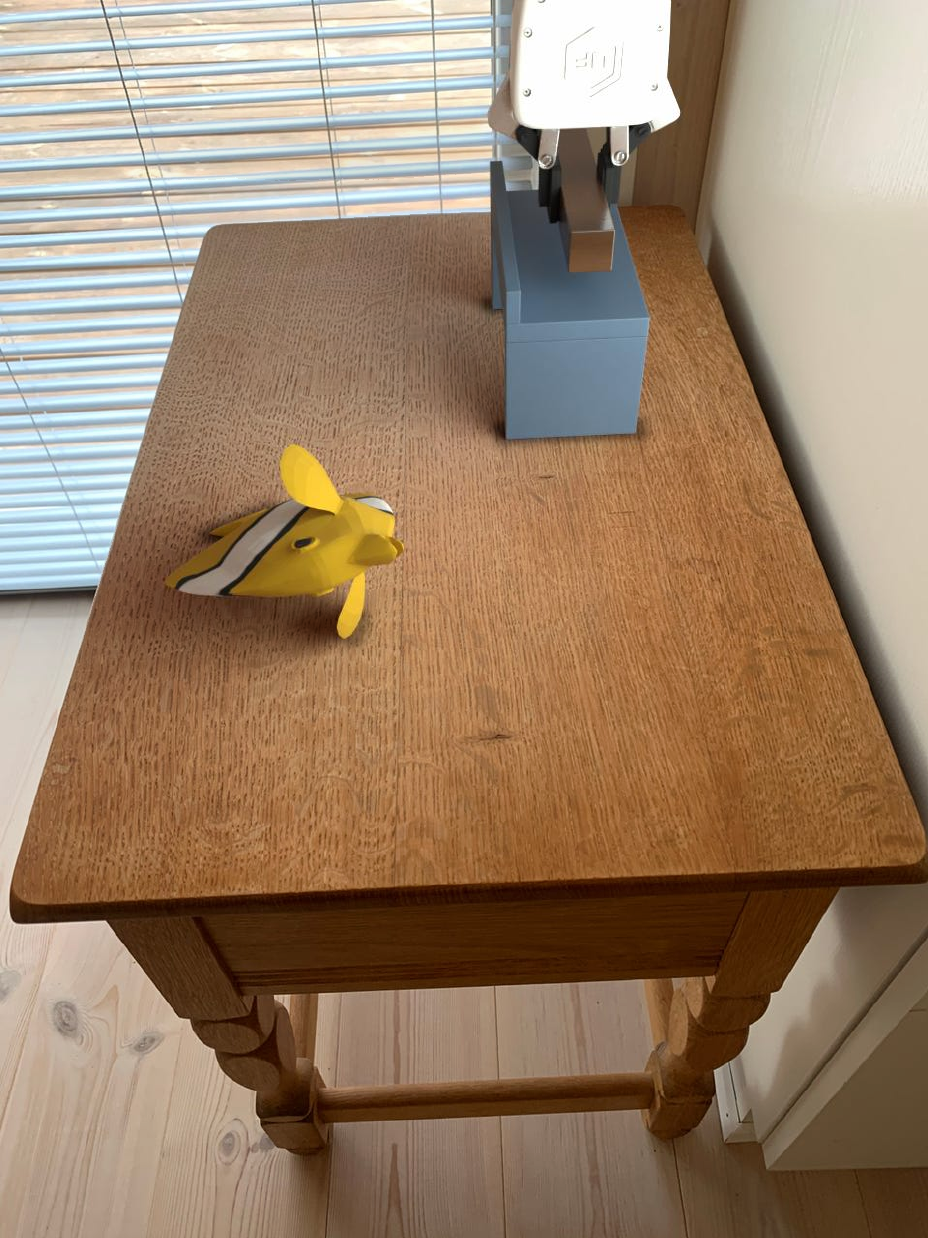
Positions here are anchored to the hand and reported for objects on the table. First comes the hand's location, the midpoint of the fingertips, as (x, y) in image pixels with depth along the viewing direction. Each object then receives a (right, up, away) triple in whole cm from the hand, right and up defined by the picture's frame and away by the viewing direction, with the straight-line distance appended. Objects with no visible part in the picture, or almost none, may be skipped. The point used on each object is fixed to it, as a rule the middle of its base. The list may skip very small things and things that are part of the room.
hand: (577, 211), depth 73 cm
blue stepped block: (0, -9, +10) cm, 13 cm away
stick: (0, 0, 0) cm, 0 cm away
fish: (-20, -28, -7) cm, 35 cm away
